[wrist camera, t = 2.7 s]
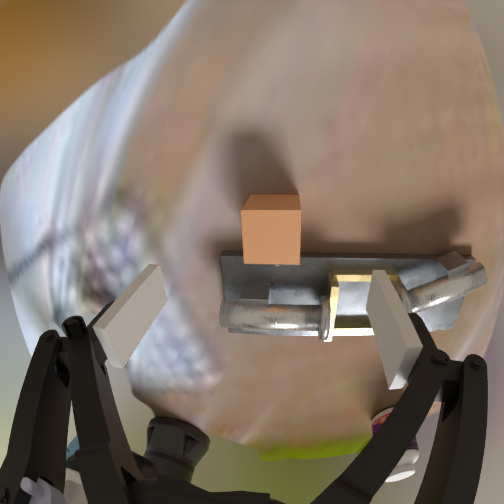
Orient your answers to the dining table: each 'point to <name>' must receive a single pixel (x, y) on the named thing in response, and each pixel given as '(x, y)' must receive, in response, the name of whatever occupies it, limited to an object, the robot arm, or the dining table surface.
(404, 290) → the shaft
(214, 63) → the dining table surface
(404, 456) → the pill bottle
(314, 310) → the shaft
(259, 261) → the block
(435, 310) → the board
